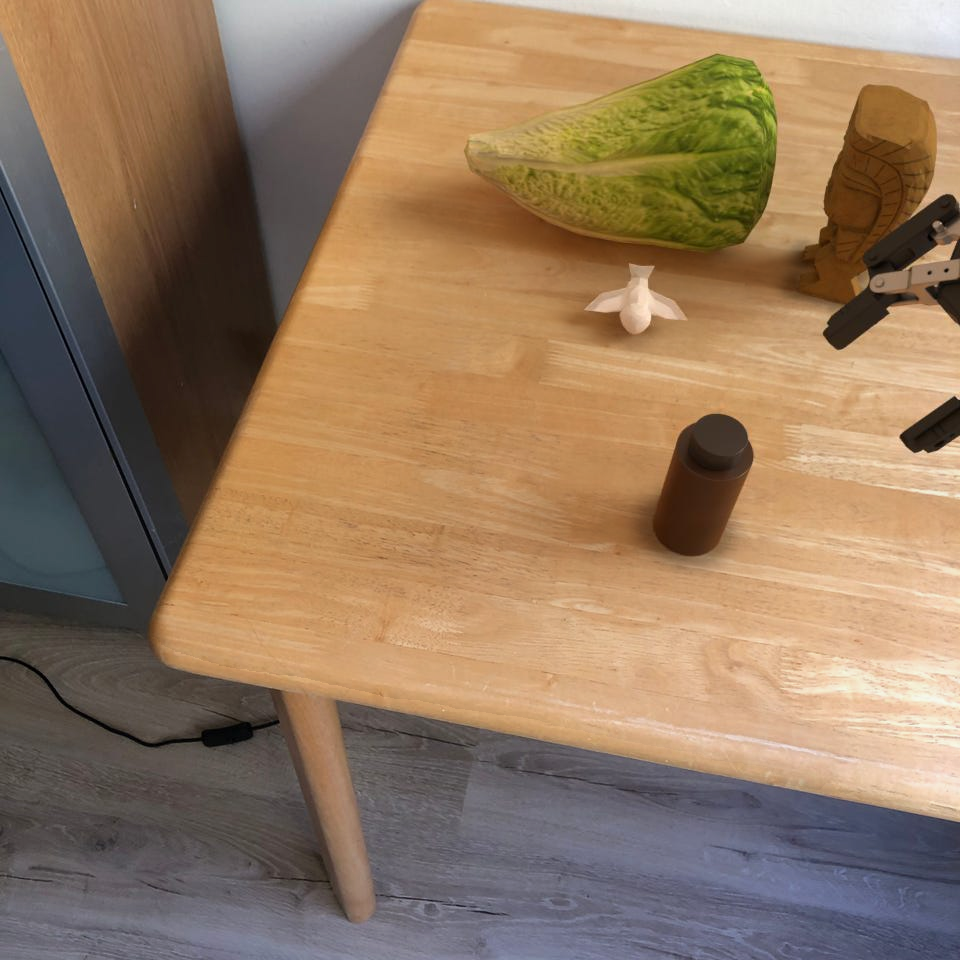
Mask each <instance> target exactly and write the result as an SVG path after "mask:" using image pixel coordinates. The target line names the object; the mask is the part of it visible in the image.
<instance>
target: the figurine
mask: <svg viewBox="0 0 960 960" xmlns="http://www.w3.org/2000/svg"><path fill="white" fill-rule="evenodd" d="M937 152H938V132H937V122H936V119H935V116H934V113H933V111H932V108H931V107H930V104H929V103H928V101H927V100H925V99H922V98H920V97H919V96H916V95H913V94H912V93H911V92H909V91H906V90H904V89H902V88H900V87H899V86H894V85H888V84H887V85H886V84H885V85H884V84H881V85H880V84H871V83H870V84H869V83H868V84H865V85H864V86H863V87H862V88H861V89H860V91H859V93H858V96H857V99H856V102H855V105H854V107H853V111H852V112H851V115H850V118H849V121H848V125H847V129H846V131H845V134H844V136H843V145H842V149H841V150H840V151H839V153H838V155H837V156H836V157H837V158H836V161H835V162H834V163H833V168H832V170H831V173H830V177H829V178H828V180H827V185H826V186H825V191H824V195H823V208H822V209H823V211H824V214H825V215H826V216H827V222H826V223H827V224H826V225H825V226H823V227H822V228H820V229H819V234H818V243H814V244H809V245H806V246H805V247H804V249H803V253H802V261H801V262H802V263H804V264H809V265H813V266H814V267H815V269H813V270H811V271H807V272H804V273H802V274H799V278H798V280H797V285H796V292H797V293H800V294H805V295H807V296H812V297H816V298H819V299H824V300H827V301H832V302H836V303H841V304H844V305H846V304H847V303H848V302H849V301H851V300H852V299H853V298H855V297H856V296H857V295H858V294H860V293H861V287H860V284H859V281H858V278H857V276H860V275H861V274H862V273H864V272H865V271H868V270H867V266H866V265H865V263H864V262H863V255H864V253H865V252H866V251H867V250H868V249H869V248H871V247H872V246H873V245H875V244H876V243H877V242H879V241H880V240H882V239H883V238H884V237H886V236H887V235H888V234H890V233H891V232H892V231H894V230H895V229H896V228H898V227H899V226H901V225H902V224H903V223H905V222H906V221H907V220H909V219H910V218H911V217H912V216H913V215H914V213H915V212H916V210H918V208H919V207H920V205H921V203H922V201H923V200H924V198H925V197H926V196H927V194H928V192H929V190H930V187H931V185H932V182H933V179H934V175H935V169H936V161H937Z"/></svg>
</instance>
